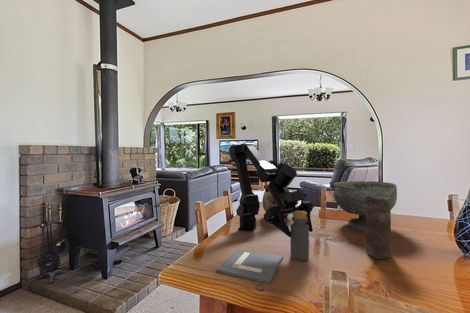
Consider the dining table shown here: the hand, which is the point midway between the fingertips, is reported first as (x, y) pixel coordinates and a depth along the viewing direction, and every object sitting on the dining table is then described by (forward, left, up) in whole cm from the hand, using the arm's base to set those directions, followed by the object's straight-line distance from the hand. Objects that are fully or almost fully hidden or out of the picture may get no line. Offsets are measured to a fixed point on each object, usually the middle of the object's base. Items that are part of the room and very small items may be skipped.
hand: (301, 233), depth 79 cm
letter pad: (-14, -10, -8) cm, 19 cm away
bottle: (-1, +1, -8) cm, 8 cm away
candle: (+23, +13, -8) cm, 28 cm away
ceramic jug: (-19, +42, -8) cm, 46 cm away
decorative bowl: (+21, +44, -8) cm, 49 cm away
